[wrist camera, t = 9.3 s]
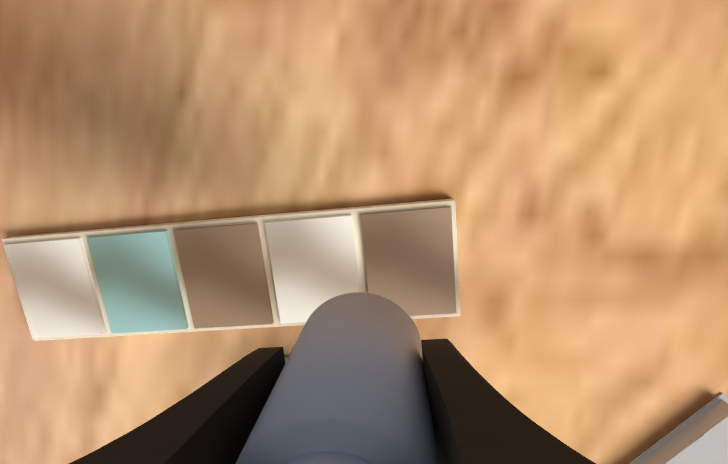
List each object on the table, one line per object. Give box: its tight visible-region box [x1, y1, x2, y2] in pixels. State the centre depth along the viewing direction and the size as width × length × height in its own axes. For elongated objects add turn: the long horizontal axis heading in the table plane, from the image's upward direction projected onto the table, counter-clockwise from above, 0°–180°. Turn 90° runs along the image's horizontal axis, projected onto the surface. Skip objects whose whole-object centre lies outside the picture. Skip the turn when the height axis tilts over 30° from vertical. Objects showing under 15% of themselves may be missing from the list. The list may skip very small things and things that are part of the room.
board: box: [2, 199, 460, 341], centre depth 19 cm, size 6×22×1 cm, turn 96°
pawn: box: [236, 292, 439, 464], centre depth 7 cm, size 3×3×7 cm
